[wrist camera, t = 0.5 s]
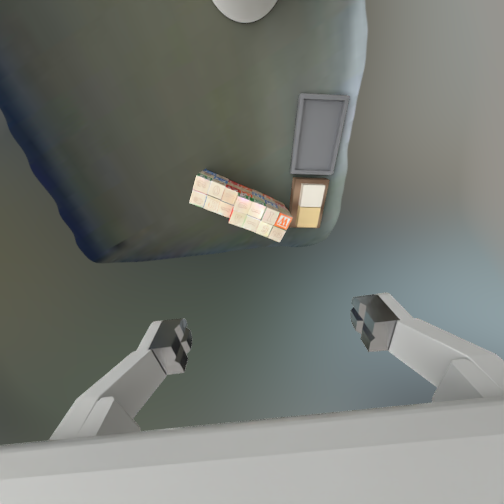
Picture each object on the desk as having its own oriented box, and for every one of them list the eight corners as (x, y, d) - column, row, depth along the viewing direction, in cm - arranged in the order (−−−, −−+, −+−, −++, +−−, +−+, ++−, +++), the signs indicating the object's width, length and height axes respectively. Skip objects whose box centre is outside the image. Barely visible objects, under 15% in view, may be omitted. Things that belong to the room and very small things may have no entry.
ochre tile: (298, 205, 49) (300, 207, 47) (318, 205, 49) (320, 208, 48) (295, 224, 52) (297, 227, 50) (314, 224, 52) (316, 227, 50)
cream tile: (301, 183, 47) (303, 184, 45) (322, 183, 47) (325, 185, 45) (298, 204, 49) (300, 206, 47) (318, 204, 49) (320, 207, 47)
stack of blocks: (197, 193, 50) (184, 206, 39) (204, 168, 47) (192, 175, 37) (273, 223, 55) (280, 243, 44) (284, 202, 52) (293, 218, 41)
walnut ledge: (293, 177, 49) (295, 179, 46) (325, 178, 49) (329, 180, 46) (287, 223, 55) (289, 227, 52) (315, 223, 55) (319, 228, 52)
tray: (298, 95, 41) (300, 93, 39) (346, 97, 41) (349, 95, 40) (289, 172, 48) (290, 173, 47) (329, 173, 49) (332, 175, 47)
